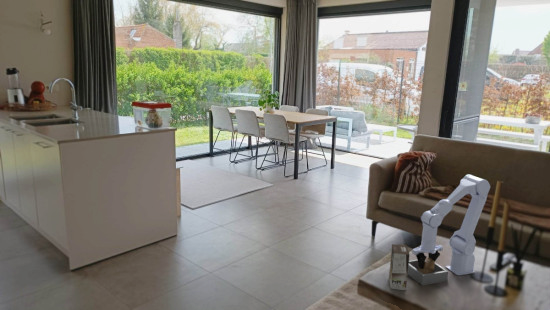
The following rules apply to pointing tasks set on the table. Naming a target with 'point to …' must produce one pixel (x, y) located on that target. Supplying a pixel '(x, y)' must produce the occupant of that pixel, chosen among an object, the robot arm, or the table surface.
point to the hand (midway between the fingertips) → (425, 267)
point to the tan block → (428, 266)
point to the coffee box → (399, 267)
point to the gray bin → (430, 278)
